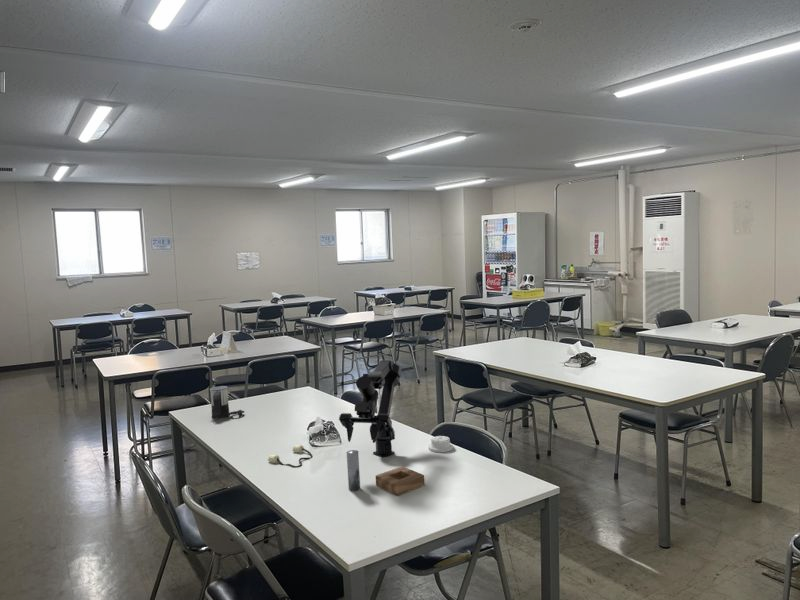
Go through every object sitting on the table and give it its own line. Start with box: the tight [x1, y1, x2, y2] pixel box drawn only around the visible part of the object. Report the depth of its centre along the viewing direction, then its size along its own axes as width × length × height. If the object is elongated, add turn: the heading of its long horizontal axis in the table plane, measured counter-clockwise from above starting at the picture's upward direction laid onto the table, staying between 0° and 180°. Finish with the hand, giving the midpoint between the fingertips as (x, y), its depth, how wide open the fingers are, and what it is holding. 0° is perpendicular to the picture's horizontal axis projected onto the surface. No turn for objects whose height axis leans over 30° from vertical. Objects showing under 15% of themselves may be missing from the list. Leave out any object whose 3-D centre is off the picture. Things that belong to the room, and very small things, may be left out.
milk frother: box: [209, 385, 245, 419], centre depth 299 cm, size 14×16×15 cm
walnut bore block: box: [375, 465, 426, 496], centre depth 200 cm, size 12×12×4 cm
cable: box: [267, 444, 313, 469], centre depth 231 cm, size 16×16×4 cm
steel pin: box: [346, 449, 361, 492], centre depth 198 cm, size 4×4×13 cm
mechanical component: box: [427, 435, 454, 453], centre depth 235 cm, size 10×4×10 cm
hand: (361, 441), depth 205 cm, fingers open, 9 cm apart
